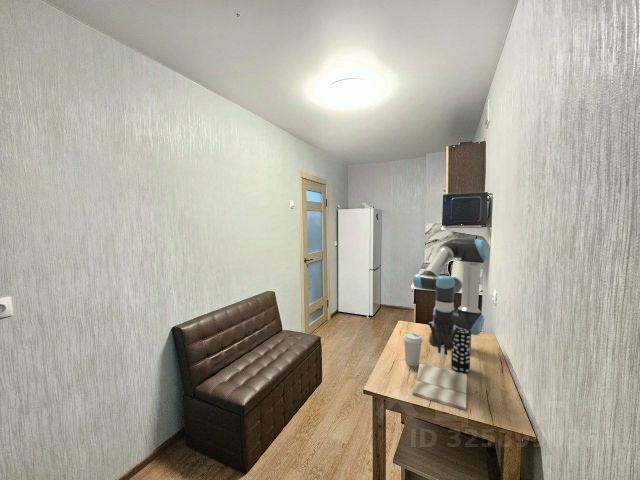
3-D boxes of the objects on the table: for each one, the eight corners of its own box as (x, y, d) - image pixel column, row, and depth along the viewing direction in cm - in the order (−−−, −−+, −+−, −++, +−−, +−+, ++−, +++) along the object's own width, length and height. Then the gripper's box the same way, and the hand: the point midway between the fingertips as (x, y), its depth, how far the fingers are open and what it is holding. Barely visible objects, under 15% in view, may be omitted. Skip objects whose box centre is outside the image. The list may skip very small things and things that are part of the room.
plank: (466, 376, 121) (466, 374, 120) (466, 395, 114) (466, 393, 114) (419, 364, 131) (419, 363, 130) (416, 381, 124) (416, 380, 123)
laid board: (466, 395, 114) (466, 393, 114) (466, 410, 105) (466, 407, 105) (416, 382, 123) (416, 379, 123) (412, 394, 114) (412, 392, 114)
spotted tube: (452, 372, 133) (453, 332, 132) (450, 364, 141) (451, 326, 140) (471, 375, 130) (472, 334, 129) (468, 367, 138) (469, 328, 137)
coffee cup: (423, 369, 135) (424, 340, 134) (403, 367, 137) (404, 338, 136) (420, 360, 144) (421, 332, 144) (401, 358, 146) (402, 331, 145)
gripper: (460, 310, 124) (458, 360, 125) (429, 305, 130) (428, 353, 131) (460, 314, 117) (457, 367, 118) (427, 309, 123) (426, 360, 124)
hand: (442, 360), depth 124 cm, fingers closed
